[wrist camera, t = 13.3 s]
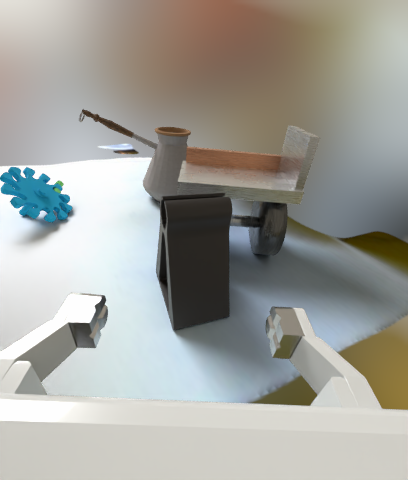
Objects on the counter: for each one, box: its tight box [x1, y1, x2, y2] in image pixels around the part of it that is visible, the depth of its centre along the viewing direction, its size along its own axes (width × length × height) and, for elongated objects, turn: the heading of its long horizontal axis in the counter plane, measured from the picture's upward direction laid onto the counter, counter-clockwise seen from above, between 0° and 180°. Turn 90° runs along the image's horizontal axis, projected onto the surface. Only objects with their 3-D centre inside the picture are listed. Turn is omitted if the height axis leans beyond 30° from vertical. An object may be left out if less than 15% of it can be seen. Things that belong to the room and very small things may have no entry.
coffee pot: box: [79, 110, 191, 202], centre depth 45 cm, size 21×12×15 cm, turn 97°
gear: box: [0, 167, 72, 223], centre depth 38 cm, size 11×6×10 cm
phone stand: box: [156, 193, 232, 330], centre depth 24 cm, size 9×6×12 cm, turn 20°
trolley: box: [177, 126, 320, 255], centre depth 33 cm, size 15×10×17 cm
